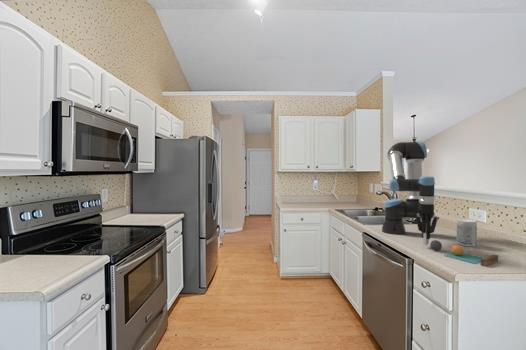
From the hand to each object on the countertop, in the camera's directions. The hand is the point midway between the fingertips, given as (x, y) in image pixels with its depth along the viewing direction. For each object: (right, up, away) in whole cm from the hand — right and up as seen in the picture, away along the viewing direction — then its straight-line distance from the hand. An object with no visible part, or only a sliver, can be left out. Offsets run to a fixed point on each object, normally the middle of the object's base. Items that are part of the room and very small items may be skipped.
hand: (425, 244), depth 156 cm
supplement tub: (+27, -2, +5) cm, 28 cm away
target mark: (+10, -2, -17) cm, 20 cm away
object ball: (+8, 0, -14) cm, 16 cm away
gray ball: (+2, +1, -5) cm, 6 cm away
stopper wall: (+15, -3, -26) cm, 30 cm away
